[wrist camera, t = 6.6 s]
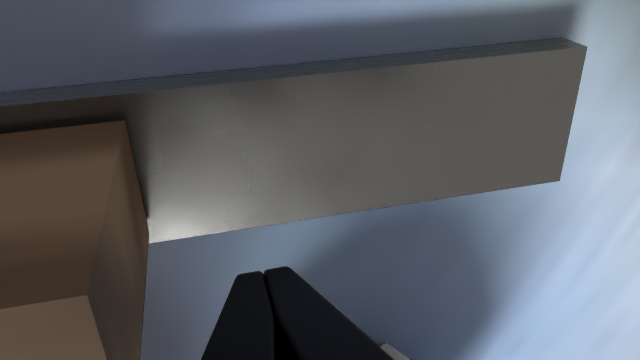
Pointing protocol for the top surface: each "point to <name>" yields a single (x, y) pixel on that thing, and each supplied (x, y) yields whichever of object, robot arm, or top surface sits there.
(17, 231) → the wooden block
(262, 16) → the top surface
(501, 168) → the rail
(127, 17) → the top surface
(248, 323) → the robot arm
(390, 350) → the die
